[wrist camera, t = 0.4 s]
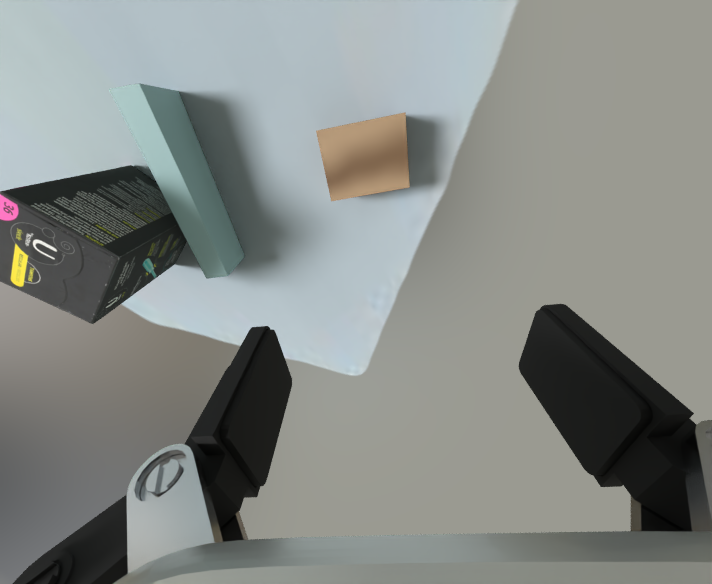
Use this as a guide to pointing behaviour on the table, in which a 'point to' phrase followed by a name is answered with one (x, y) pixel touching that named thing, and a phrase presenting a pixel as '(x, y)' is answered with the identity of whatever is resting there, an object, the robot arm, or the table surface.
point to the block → (365, 157)
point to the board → (181, 173)
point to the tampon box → (87, 239)
